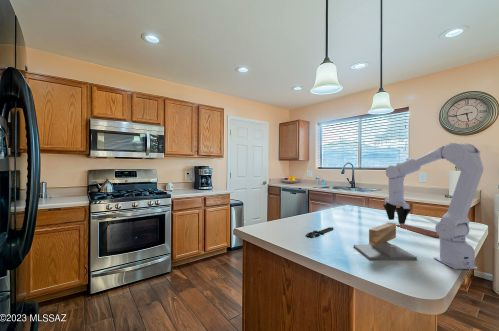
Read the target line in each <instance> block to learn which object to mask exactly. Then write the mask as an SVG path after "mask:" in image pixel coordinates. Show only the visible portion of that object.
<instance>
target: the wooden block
mask: <svg viewBox="0 0 499 331" xmlns="http://www.w3.org/2000/svg"><path fill="white" fill-rule="evenodd" d="M396 225H397V223H393V222H386V223H383V224H381V225H380V224H379V225H378V226H374V227H372V228H369V229H368V245H373V246H378V245H381V244H383V243H385V242H390V241H391V240H394V239H396V238H397V227H396Z"/></svg>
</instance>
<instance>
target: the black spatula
mask: <svg viewBox="0 0 499 331" xmlns="http://www.w3.org/2000/svg"><path fill="white" fill-rule="evenodd" d="M333 230H334V227H333V226H331V227H326V228H324V229H321V230H313V231H310V232H308V233H307V234H305V237H306V238H310V239H314V237H316V238H318V237H320V236H321V235H323V236H325V233H328V232H331V231H333Z"/></svg>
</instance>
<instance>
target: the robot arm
mask: <svg viewBox="0 0 499 331" xmlns="http://www.w3.org/2000/svg"><path fill="white" fill-rule="evenodd" d="M480 155H481V151H480V150H479V149H478V148H477V147H476V146H475V145H474V144H471V143H456V142H451V143H447V144H445V145H442V146H439V147H438V148H436V149H433V150H432V151H430V152H428V153H426V154H424V155H422V156H420V157H418V158H414V157H408V158H406V159H405V160H404V161H402V162H397V163H396V164H395V165H388V166H387V167H386V168H385V175H386V177H387V178H388V198H387V199H386V198H385V199H384V204H383V208H384V210H385V213H386V215H387V218H388V220H389V221H392V220H393V221H394V220H395V214H397V221H398V225H399V224H405V223H406V220H407V217H408V215H409V213H410V212H411V208H410V204H409V203H407V201H405V200H404V181H405V177H406V176H407V175H410V174H413V173H416V172H418V171H420V170H421V167H422V166H425V165H428V164H430V163H433V162H436V161H438V160H442V159H443V160H446V161H448V162H450V163H452V164H453V165H454V166H455V167H456V168H457V169H458V170H459V172H460V173H459V176H458V179H457V183H456V184H455V188H454V191H453V194H452V196H451V200H450V203H449V206H448V209H447V212H446V213H444V214H443V215H442V216H441V219H440V221H438V222H437V223H436V224H435V228H434V229H435V230H434V231H435V232H436V233H437V234H438V235H439V238H438V239H439V256H433V259H434V260H436V261H438V262H440V263H442V264H444V265H446V266H448V267H450V268H452V269H454V270H477V269H478V267H477V266H476V265H475V264H476V259H475V258H476V257H475V255H476V254H475V252H476V251H475V248H474V247H473V246H472V245H470V244H469V243H467V241H466V236H468V235H469V233H470V226H469V224H470V219H469V217H468V214H469V212H470V209H471V206H472V203H473V200H474V197H475V194H476V191H477V189H478V187H479V184H480V181H481V178H482V176H483V173H484V165H483V162H482V159H481V156H480ZM395 212H396V213H395ZM405 225H406V224H405Z"/></svg>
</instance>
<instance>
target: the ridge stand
mask: <svg viewBox="0 0 499 331" xmlns="http://www.w3.org/2000/svg"><path fill="white" fill-rule="evenodd" d="M353 248H355V250H357V251H358V252H359V253H360V254H362V255H363V256H364V257H366V258H367V259H368V260H369V261H388V260H389V261H394V260H395V261H401V260H402V261H404V260H405V261H408V260H409V261H411V260H413V261H414V260H415V261H416V260H417V261H418V256H416V255H414V254H412V253H410V252H409V251H406V250H405V249H403V248H401V247H399V246H397V245H396V244H393V243H390V242H389V241H387V242H385V243H383V244H381V245H378V246H373V245H369V244H353Z"/></svg>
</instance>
